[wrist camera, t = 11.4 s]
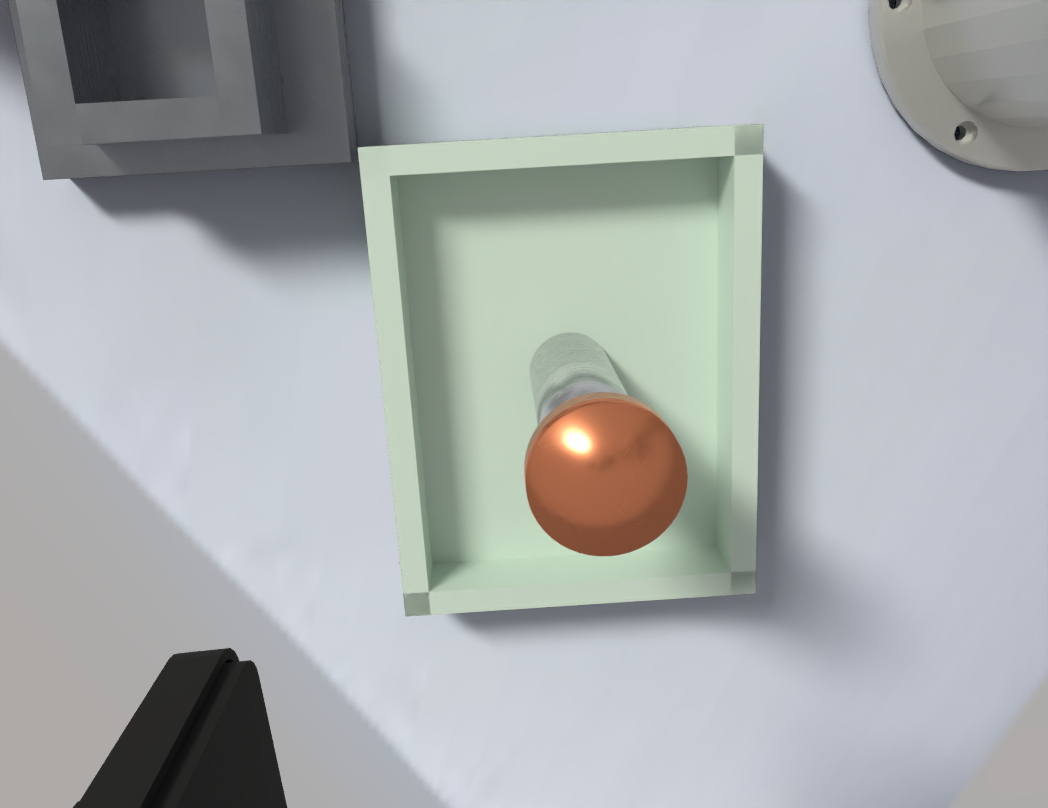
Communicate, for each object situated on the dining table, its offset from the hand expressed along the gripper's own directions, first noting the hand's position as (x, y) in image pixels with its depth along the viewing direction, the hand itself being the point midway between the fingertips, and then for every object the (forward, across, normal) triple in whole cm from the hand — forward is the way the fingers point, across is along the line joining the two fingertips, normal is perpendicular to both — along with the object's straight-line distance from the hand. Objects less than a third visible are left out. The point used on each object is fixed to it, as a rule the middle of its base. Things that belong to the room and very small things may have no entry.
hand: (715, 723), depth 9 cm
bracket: (+28, +12, -13) cm, 33 cm away
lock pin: (+27, 0, +4) cm, 28 cm away
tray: (+28, 0, +4) cm, 29 cm away
